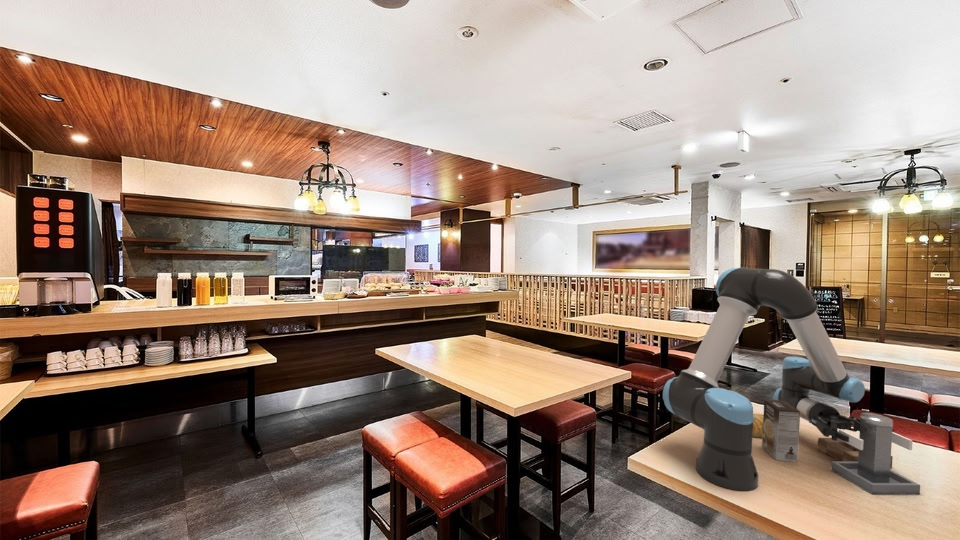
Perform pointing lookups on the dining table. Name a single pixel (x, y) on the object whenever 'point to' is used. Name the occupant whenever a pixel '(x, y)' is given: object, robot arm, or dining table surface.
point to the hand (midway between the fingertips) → (886, 445)
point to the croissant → (758, 425)
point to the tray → (895, 485)
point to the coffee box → (781, 430)
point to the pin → (875, 447)
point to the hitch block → (840, 449)
